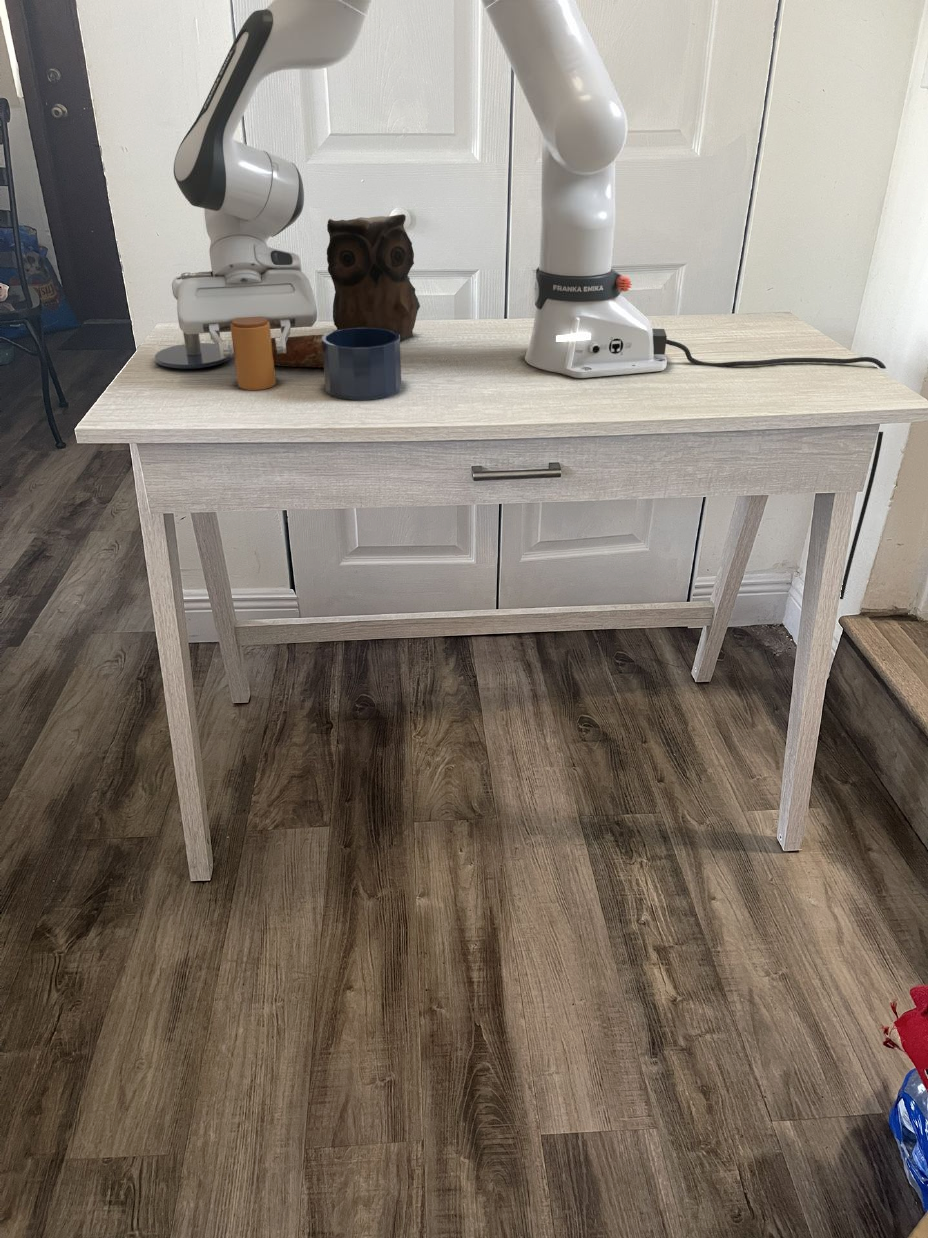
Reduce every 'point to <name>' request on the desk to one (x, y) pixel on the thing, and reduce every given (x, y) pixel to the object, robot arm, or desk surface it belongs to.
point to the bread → (300, 352)
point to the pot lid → (191, 354)
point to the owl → (372, 274)
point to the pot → (362, 363)
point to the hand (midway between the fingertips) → (253, 353)
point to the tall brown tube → (253, 353)
